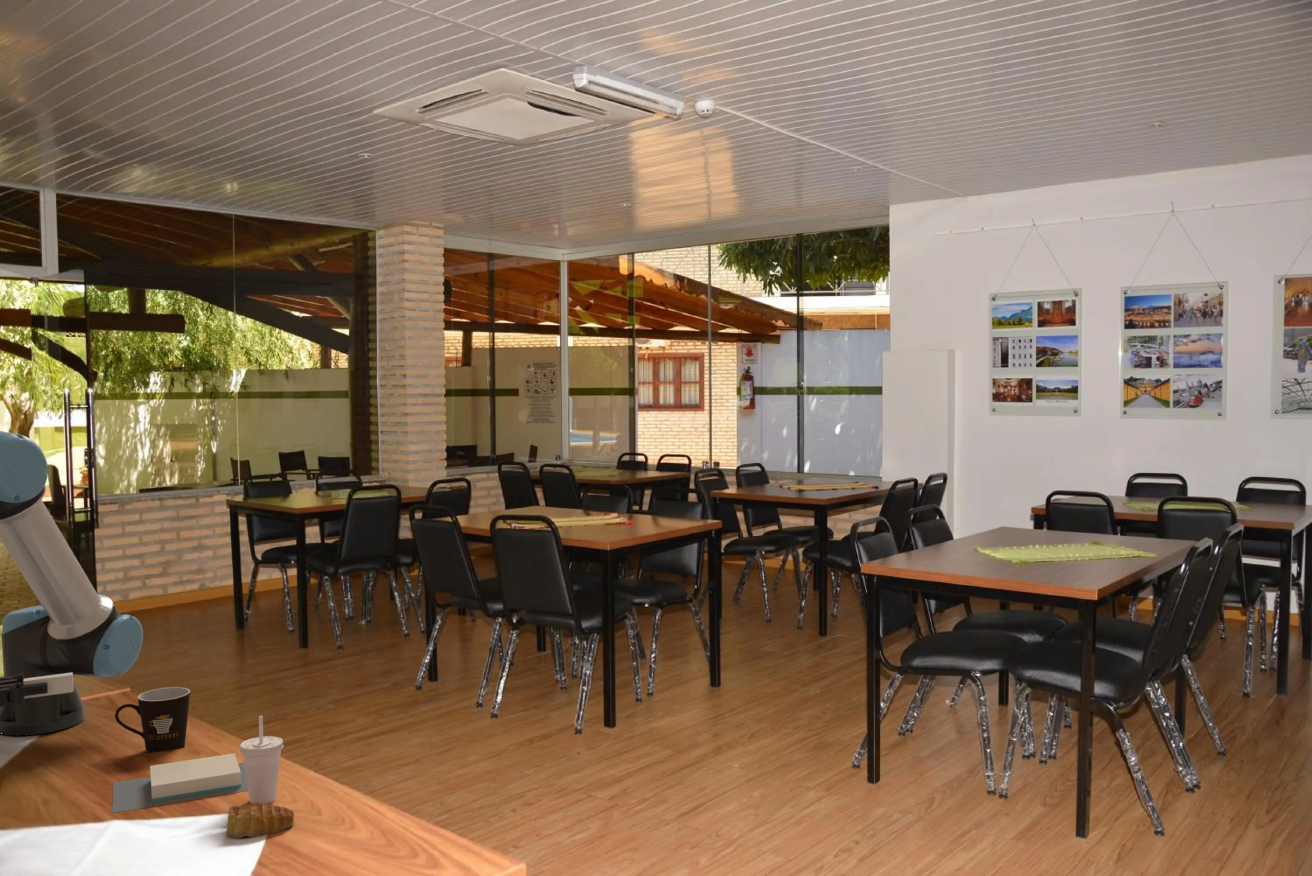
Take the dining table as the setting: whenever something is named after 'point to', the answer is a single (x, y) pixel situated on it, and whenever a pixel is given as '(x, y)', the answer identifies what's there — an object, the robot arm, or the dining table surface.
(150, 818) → the dining table surface
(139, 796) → the mat
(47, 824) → the dining table surface
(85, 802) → the dining table surface
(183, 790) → the tile
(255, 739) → the smoothie
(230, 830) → the pastry
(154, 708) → the coffee mug
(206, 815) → the dining table surface
